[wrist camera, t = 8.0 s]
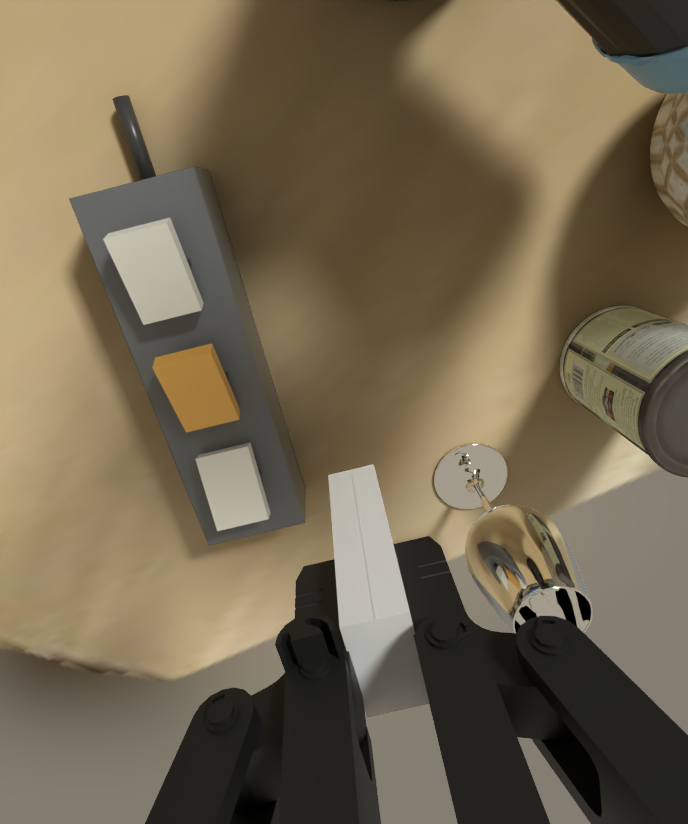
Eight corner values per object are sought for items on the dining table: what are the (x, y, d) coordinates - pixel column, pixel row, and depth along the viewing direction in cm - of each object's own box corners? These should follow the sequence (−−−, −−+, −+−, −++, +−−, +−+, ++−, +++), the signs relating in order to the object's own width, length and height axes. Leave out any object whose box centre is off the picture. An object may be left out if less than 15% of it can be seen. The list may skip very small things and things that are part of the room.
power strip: (66, 115, 41) (21, 101, 34) (182, 85, 41) (159, 64, 34) (217, 509, 54) (205, 551, 48) (305, 488, 54) (305, 528, 48)
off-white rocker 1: (108, 233, 37) (103, 239, 36) (170, 217, 37) (166, 222, 36) (147, 317, 41) (143, 325, 39) (203, 303, 40) (201, 310, 39)
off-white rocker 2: (199, 454, 45) (195, 459, 44) (250, 442, 45) (247, 446, 44) (220, 524, 46) (217, 531, 45) (270, 513, 46) (268, 519, 45)
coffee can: (683, 364, 52) (810, 421, 39) (591, 428, 54) (682, 503, 41) (635, 279, 48) (756, 311, 35) (538, 351, 50) (619, 406, 37)
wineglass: (464, 427, 53) (550, 553, 34) (523, 465, 55) (634, 604, 36) (416, 486, 55) (472, 635, 36) (475, 521, 57) (555, 679, 38)
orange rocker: (155, 357, 40) (152, 367, 39) (212, 343, 40) (210, 353, 39) (187, 421, 44) (186, 432, 43) (239, 408, 44) (239, 419, 43)
